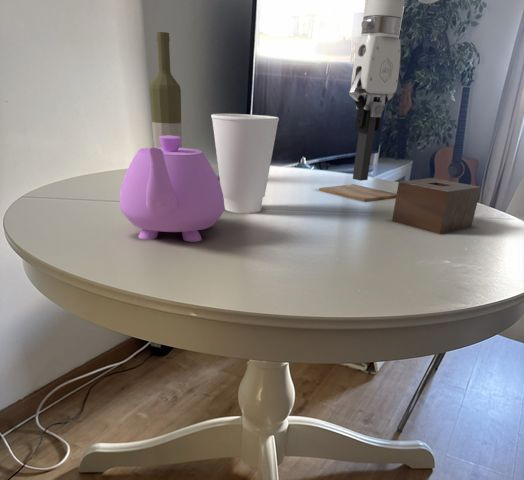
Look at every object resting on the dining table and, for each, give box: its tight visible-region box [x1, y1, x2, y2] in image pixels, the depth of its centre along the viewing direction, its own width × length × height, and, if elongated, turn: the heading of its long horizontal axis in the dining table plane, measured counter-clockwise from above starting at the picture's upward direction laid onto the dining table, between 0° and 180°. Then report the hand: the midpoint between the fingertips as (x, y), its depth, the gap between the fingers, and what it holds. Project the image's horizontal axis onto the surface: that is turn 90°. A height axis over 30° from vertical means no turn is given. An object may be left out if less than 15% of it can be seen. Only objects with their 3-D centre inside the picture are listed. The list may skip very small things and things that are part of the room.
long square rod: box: [352, 101, 384, 182], centre depth 105 cm, size 3×5×16 cm, turn 38°
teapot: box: [119, 135, 225, 242], centre depth 70 cm, size 22×16×14 cm
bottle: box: [149, 31, 183, 148], centre depth 110 cm, size 7×7×30 cm
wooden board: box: [318, 183, 397, 203], centre depth 111 cm, size 12×14×1 cm
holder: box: [391, 177, 482, 235], centre depth 86 cm, size 10×10×7 cm
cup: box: [210, 113, 280, 214], centre depth 87 cm, size 12×12×16 cm
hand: (367, 129), depth 104 cm, fingers closed on long square rod, 2 cm apart
